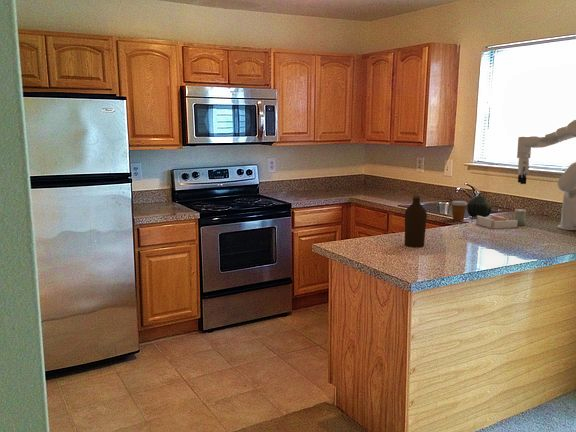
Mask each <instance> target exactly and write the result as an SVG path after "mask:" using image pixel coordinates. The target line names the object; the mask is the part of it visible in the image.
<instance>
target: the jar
mask: <svg viewBox="0 0 576 432" xmlns="http://www.w3.org/2000/svg"><path fill="white" fill-rule="evenodd" d="M526 214H527V209H523V208H522V209H521V208H515V209H514V220H517V221H518V223H517V226H526Z"/></svg>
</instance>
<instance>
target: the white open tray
mask: <svg viewBox="0 0 576 432" xmlns="http://www.w3.org/2000/svg"><path fill="white" fill-rule="evenodd" d="M498 216H499V215H498ZM499 217H502V218H503V216H501V215H500V216H499ZM475 222H476V223H475V224H476V225H479V226H483V227H485V226H486V228H489V229H507V228H509V229H511V228H518V225H517V223H518V221H517V220H507V221H494V220H493V219H491V216H487V217H482V216H476V221H475Z"/></svg>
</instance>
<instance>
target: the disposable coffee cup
mask: <svg viewBox="0 0 576 432" xmlns="http://www.w3.org/2000/svg"><path fill="white" fill-rule="evenodd" d="M451 201H452V202H451V203H450V204H451V206H452V207H451V208H452V220H453V221H456V222H462V221H464V218H465V215H466V214H465V213H466V209H467V206H468V203H467V201H466V200H451Z"/></svg>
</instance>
